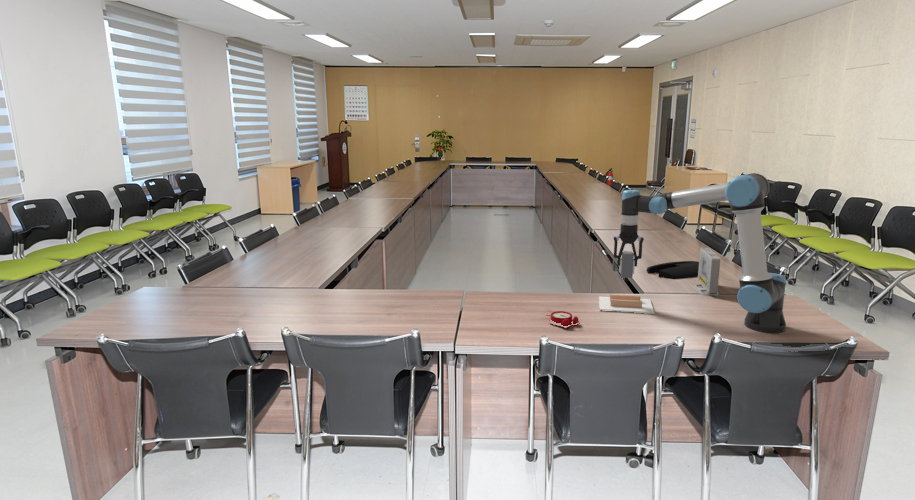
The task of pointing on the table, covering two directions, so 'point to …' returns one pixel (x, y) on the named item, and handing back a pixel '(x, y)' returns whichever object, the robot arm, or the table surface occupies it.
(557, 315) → the alarm clock
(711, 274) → the network device
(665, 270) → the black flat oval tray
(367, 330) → the table surface
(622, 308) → the end holder
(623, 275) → the connector plug
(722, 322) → the table surface
